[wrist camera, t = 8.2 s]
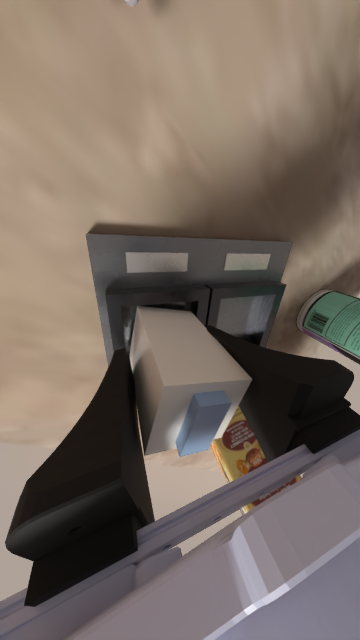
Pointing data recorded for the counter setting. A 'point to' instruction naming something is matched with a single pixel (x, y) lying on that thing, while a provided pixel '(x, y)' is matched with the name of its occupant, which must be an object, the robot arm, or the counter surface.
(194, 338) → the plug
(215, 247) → the dark grey compartment tray
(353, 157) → the counter surface
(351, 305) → the spray can
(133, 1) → the charger
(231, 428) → the candy box
